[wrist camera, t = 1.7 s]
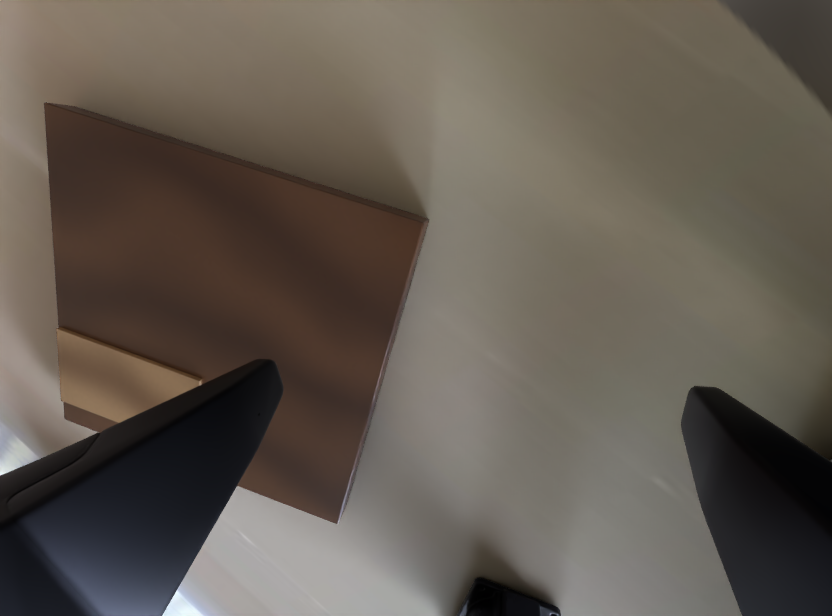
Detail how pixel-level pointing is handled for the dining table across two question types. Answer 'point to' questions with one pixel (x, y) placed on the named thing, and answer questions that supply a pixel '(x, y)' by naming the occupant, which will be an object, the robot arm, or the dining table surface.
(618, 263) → the dining table surface
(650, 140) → the dining table surface
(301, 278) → the serving board
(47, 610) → the robot arm
